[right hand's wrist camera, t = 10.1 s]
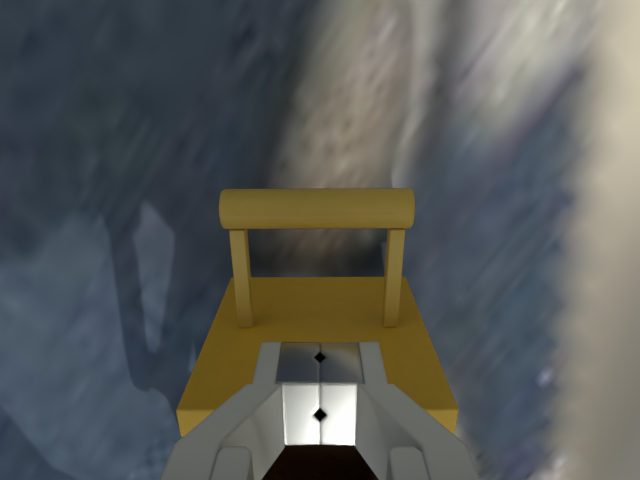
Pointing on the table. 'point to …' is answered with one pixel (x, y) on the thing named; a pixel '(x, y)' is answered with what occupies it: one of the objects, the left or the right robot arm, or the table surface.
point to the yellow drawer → (316, 316)
